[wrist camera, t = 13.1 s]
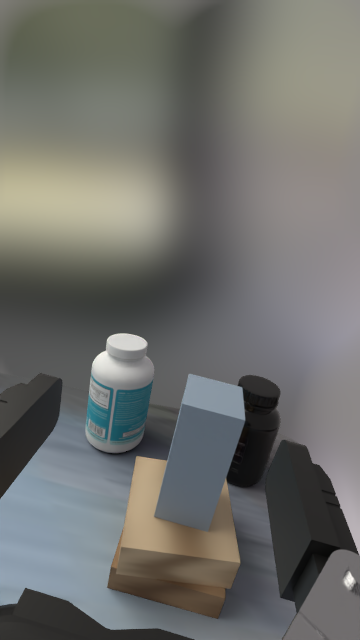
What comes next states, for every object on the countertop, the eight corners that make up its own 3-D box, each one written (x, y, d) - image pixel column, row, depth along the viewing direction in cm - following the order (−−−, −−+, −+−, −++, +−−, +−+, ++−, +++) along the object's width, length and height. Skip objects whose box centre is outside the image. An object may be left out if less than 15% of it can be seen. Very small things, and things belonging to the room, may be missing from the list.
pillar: (153, 516, 26) (182, 403, 23) (163, 474, 30) (189, 373, 27) (207, 531, 26) (245, 420, 22) (210, 487, 30) (242, 387, 27)
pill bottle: (145, 422, 46) (162, 335, 41) (138, 461, 39) (157, 361, 34) (93, 412, 45) (104, 324, 41) (76, 450, 38) (87, 348, 34)
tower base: (106, 591, 26) (111, 566, 25) (135, 498, 34) (139, 477, 33) (216, 622, 25) (225, 598, 24) (218, 520, 34) (224, 499, 33)
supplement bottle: (231, 440, 46) (254, 365, 42) (272, 473, 41) (302, 393, 37) (197, 459, 41) (219, 377, 37) (239, 498, 36) (269, 410, 32)
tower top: (115, 573, 25) (121, 546, 24) (132, 479, 33) (136, 456, 32) (230, 588, 25) (240, 562, 24) (217, 491, 34) (224, 469, 33)
